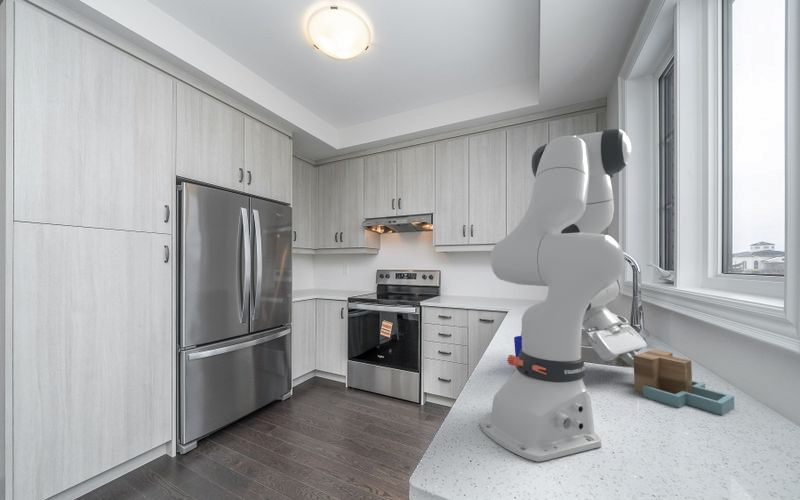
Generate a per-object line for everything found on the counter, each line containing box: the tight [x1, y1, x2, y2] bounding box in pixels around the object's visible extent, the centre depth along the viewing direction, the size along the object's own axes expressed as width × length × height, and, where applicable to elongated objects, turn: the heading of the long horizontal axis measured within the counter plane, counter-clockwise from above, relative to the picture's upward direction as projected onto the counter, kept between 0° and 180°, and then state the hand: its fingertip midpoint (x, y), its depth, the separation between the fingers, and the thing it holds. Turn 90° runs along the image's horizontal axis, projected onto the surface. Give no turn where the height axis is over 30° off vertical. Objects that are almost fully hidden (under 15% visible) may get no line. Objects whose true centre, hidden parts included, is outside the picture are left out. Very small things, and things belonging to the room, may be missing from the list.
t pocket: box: [642, 380, 735, 416], centre depth 74 cm, size 16×13×2 cm
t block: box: [633, 348, 693, 394], centre depth 78 cm, size 12×9×9 cm
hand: (641, 369), depth 83 cm, fingers closed, pressing on t block
